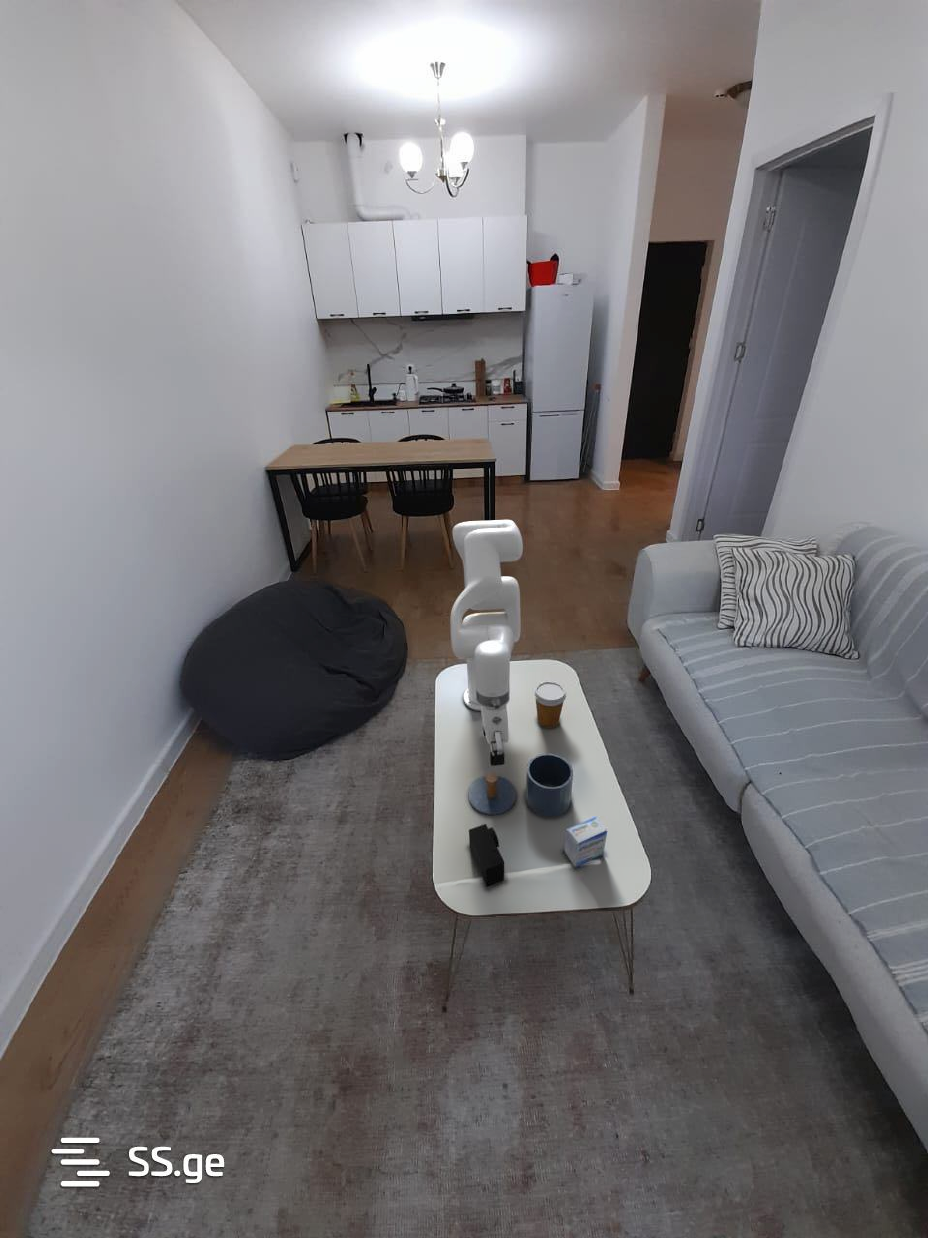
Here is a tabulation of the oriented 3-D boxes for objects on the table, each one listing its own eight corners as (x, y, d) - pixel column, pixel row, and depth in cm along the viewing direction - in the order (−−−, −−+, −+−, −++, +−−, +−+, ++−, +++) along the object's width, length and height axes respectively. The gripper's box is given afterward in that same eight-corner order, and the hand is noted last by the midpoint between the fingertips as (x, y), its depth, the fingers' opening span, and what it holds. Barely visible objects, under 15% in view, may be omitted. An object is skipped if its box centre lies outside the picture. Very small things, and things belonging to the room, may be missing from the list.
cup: (521, 784, 132) (522, 756, 126) (562, 779, 133) (565, 751, 127) (531, 820, 122) (533, 792, 117) (576, 814, 123) (579, 785, 118)
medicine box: (575, 868, 111) (578, 844, 107) (563, 852, 115) (566, 828, 110) (604, 854, 114) (608, 831, 109) (592, 839, 117) (595, 815, 113)
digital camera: (509, 879, 110) (509, 860, 106) (486, 888, 108) (486, 869, 104) (491, 840, 118) (490, 821, 114) (469, 848, 116) (468, 829, 113)
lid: (465, 781, 133) (464, 762, 130) (510, 775, 134) (510, 756, 131) (472, 820, 123) (471, 801, 119) (520, 813, 124) (521, 794, 120)
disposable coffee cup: (563, 733, 147) (566, 702, 141) (531, 730, 149) (532, 699, 143) (564, 712, 155) (567, 681, 149) (533, 709, 157) (535, 679, 151)
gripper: (518, 717, 103) (516, 775, 112) (501, 668, 118) (501, 723, 126) (482, 721, 102) (484, 779, 111) (470, 672, 117) (472, 726, 126)
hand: (493, 749), depth 119 cm, fingers open, 9 cm apart
